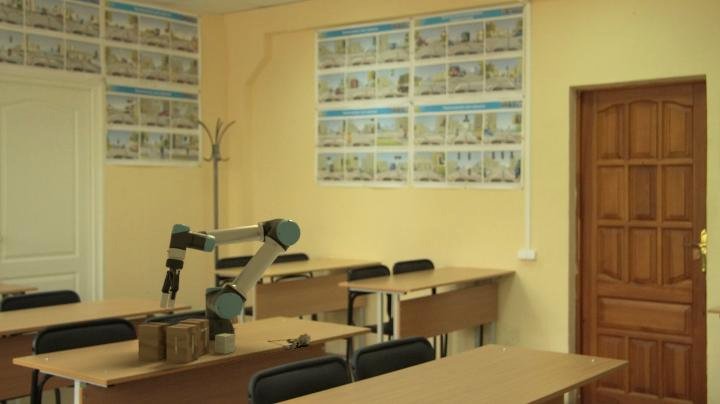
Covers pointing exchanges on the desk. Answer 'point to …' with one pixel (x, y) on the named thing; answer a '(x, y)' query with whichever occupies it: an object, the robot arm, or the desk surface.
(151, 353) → the plain block
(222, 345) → the product box
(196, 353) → the block one
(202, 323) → the block seven
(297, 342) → the toy
